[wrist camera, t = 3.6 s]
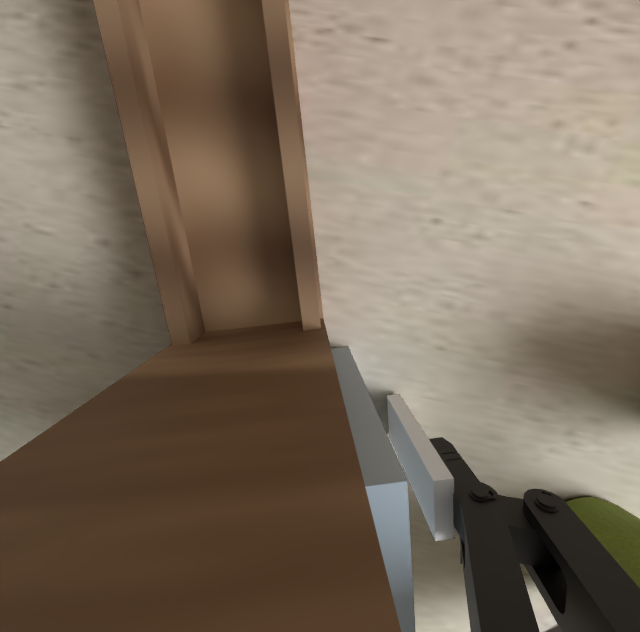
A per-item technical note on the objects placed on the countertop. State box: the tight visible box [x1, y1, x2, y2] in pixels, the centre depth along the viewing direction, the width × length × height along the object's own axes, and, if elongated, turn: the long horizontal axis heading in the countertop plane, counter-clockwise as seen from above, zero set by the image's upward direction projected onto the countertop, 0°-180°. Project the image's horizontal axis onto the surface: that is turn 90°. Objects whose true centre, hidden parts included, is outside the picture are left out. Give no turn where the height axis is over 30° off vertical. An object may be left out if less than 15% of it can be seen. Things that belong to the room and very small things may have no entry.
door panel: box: [331, 346, 415, 632], centre depth 13 cm, size 4×9×10 cm, turn 6°
